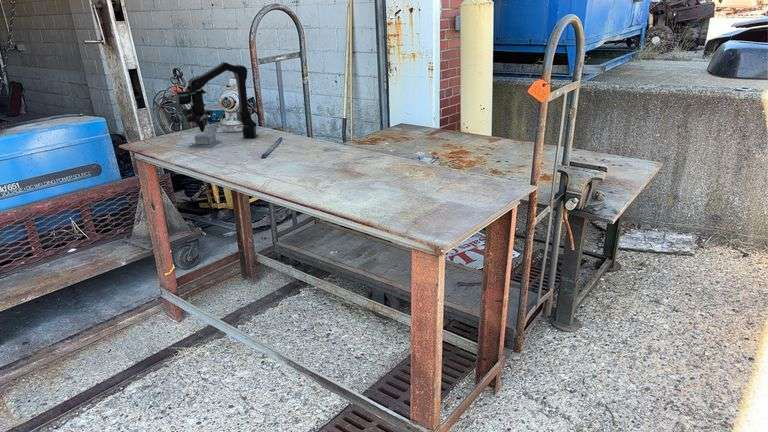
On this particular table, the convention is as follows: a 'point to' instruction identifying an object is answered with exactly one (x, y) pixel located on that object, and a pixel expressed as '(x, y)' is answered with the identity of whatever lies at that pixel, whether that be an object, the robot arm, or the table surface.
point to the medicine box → (205, 138)
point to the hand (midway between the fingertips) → (202, 131)
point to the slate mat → (205, 145)
